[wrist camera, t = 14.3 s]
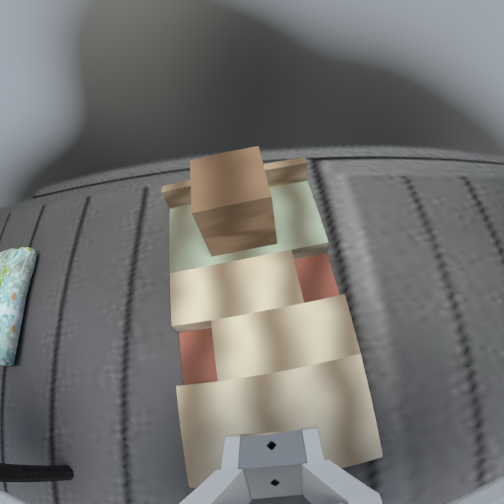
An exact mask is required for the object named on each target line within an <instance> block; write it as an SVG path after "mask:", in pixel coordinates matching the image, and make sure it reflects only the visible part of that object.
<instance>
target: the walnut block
mask: <svg viewBox="0 0 504 504" xmlns="http://www.w3.org/2000/svg"><path fill="white" fill-rule="evenodd" d="M190 175H191V207H192V215H193V217H194V219H195V222H196V224H197V226H198V228H199V230H200V232H201V235H202V237H203V239H204V241H205V243H206V245H207V247H208V250H209V252H210V254H211V256H212V257H213V256H218V255H223V254H228V253H233V252H238V251H243V250H248V249H253V248H258V247H263V246H269V245H274V244H277V237H276V228H275V220H274V212H273V204H272V196H271V192H270V189H269V185H268V181H267V177H266V173H265V169H264V165H263V162H262V158H261V154H260V150H259V147H258V146H256V147H251V148H246V149H241V150H236V151H231V152H226V153H221V154H217V155H212V156H208V157H204V158H199V159H195V160H191V161H190Z"/></svg>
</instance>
